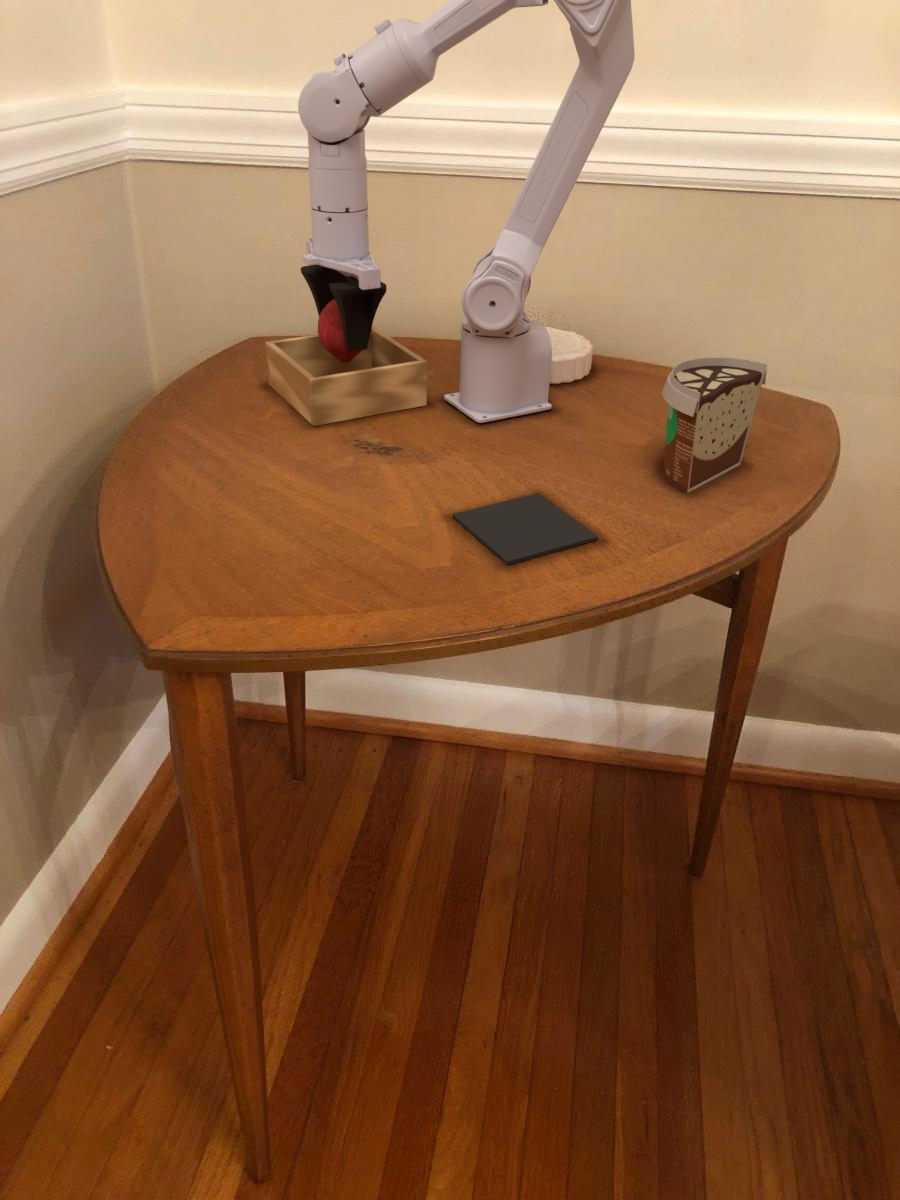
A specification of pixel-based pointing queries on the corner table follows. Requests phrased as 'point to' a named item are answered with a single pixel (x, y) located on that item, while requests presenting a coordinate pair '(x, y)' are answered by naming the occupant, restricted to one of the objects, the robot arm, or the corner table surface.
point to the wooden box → (346, 378)
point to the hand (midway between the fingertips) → (344, 340)
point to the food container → (708, 417)
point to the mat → (524, 528)
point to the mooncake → (569, 356)
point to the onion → (334, 333)
